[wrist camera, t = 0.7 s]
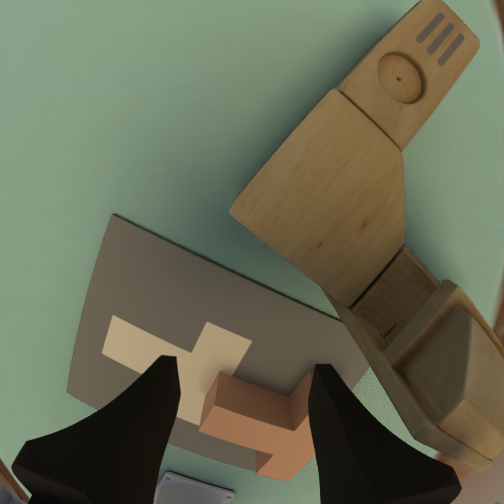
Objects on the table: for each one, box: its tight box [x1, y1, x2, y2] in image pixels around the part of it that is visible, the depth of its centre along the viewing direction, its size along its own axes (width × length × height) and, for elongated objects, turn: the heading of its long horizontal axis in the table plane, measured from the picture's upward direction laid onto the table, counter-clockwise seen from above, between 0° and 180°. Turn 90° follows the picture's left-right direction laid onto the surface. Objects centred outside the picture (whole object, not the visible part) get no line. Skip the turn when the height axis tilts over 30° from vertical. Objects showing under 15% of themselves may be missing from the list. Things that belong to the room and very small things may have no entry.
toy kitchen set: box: [229, 0, 504, 472], centre depth 13 cm, size 18×17×15 cm
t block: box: [198, 370, 315, 481], centre depth 22 cm, size 9×9×4 cm
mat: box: [67, 214, 370, 471], centre depth 23 cm, size 18×22×1 cm
